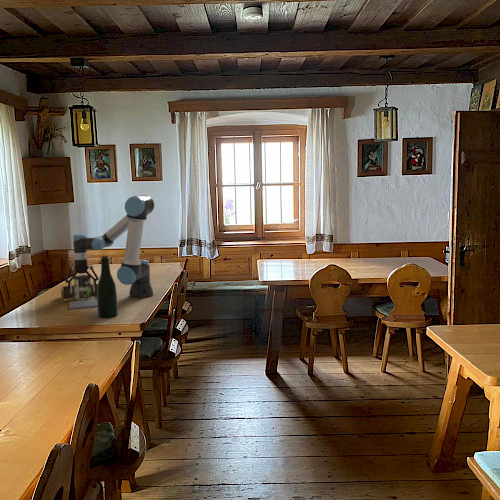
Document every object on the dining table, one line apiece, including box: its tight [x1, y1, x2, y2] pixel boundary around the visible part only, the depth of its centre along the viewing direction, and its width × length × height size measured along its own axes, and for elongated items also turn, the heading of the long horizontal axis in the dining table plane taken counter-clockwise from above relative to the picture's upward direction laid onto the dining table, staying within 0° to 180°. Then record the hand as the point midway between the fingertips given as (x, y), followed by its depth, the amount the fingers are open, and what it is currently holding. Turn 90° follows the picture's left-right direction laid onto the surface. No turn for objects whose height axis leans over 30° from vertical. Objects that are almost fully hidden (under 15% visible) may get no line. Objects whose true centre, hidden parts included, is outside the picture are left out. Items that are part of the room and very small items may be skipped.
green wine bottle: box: [96, 255, 119, 319], centre depth 275 cm, size 10×10×33 cm
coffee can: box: [73, 274, 92, 301], centre depth 320 cm, size 10×10×14 cm
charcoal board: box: [68, 299, 98, 310], centre depth 302 cm, size 16×16×1 cm
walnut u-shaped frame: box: [60, 283, 98, 303], centre depth 321 cm, size 15×25×7 cm, turn 109°
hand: (82, 292), depth 320 cm, fingers open, 13 cm apart
